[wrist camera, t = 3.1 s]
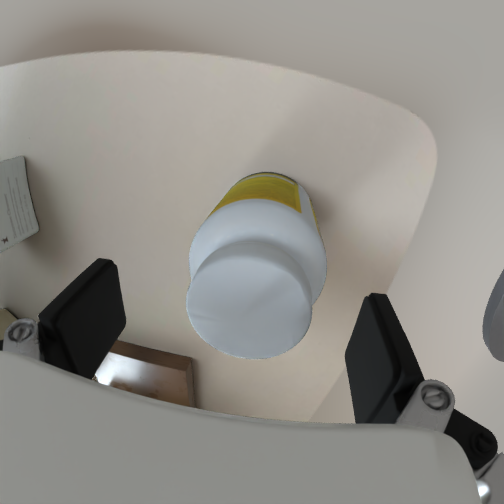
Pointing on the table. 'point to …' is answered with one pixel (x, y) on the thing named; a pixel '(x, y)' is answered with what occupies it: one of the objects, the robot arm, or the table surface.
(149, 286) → the table surface
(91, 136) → the table surface
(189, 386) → the tier shelf
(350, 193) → the table surface
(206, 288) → the pill bottle
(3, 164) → the cosmetic box
